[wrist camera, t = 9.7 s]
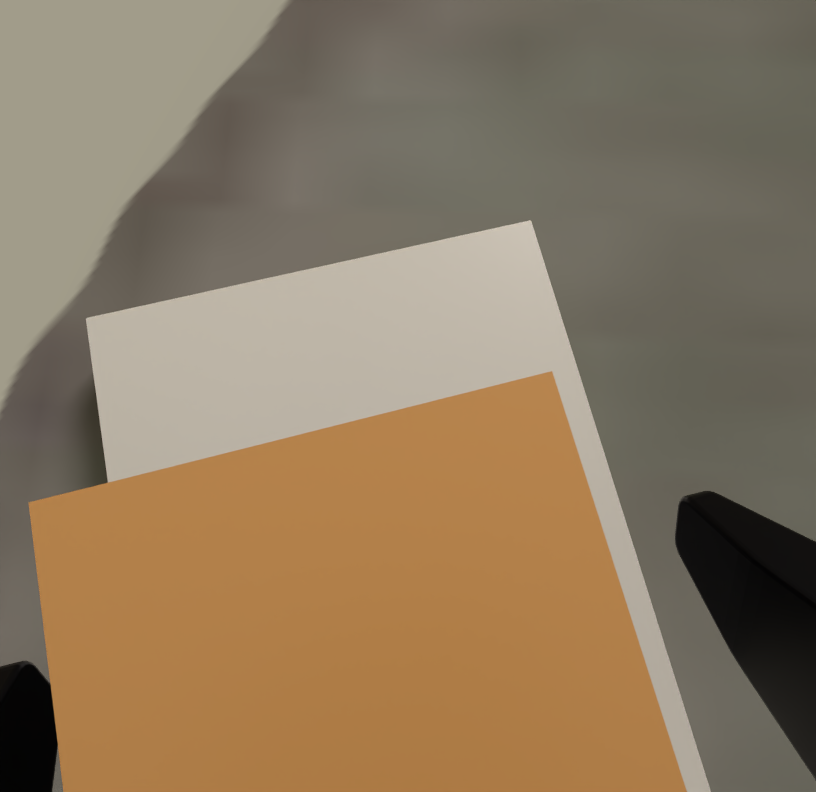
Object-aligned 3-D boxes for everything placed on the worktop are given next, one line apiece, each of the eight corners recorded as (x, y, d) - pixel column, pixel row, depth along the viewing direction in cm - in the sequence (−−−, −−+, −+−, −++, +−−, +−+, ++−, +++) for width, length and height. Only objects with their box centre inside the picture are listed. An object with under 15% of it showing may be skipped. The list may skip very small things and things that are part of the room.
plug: (492, 646, 16) (741, 964, 4) (328, 692, 16) (108, 1168, 4) (447, 483, 17) (552, 371, 5) (292, 523, 17) (28, 502, 5)
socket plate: (709, 880, 15) (763, 943, 13) (220, 1024, 14) (185, 1118, 12) (517, 253, 18) (533, 214, 16) (120, 342, 18) (79, 314, 15)
